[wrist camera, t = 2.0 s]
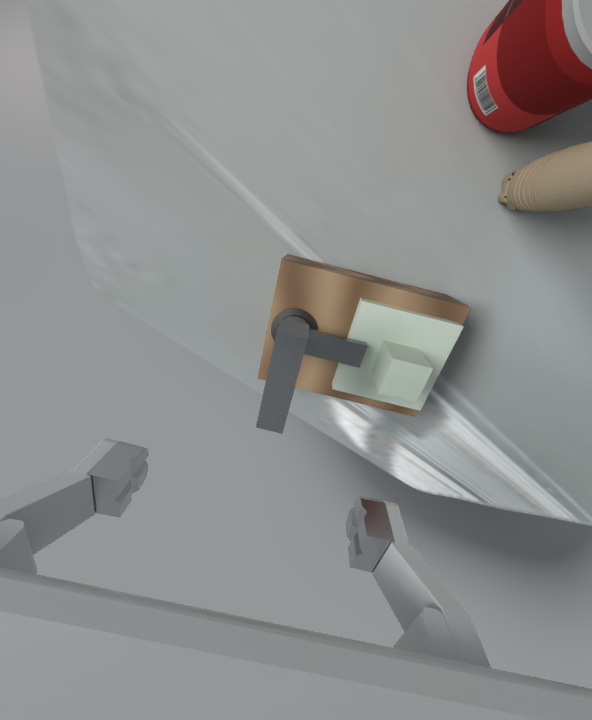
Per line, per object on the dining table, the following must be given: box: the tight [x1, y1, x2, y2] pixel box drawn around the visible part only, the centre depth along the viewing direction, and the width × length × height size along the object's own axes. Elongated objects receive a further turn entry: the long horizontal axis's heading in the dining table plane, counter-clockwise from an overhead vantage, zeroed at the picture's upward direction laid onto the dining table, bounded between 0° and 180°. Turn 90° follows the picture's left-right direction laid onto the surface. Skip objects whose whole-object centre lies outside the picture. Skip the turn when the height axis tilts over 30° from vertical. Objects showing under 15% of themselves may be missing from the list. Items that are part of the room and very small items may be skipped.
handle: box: [498, 141, 592, 212], centre depth 18 cm, size 5×6×15 cm
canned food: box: [467, 0, 592, 132], centre depth 17 cm, size 8×8×11 cm
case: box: [258, 254, 471, 417], centre depth 29 cm, size 17×12×5 cm
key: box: [256, 315, 368, 433], centre depth 22 cm, size 8×7×10 cm
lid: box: [332, 298, 464, 411], centre depth 25 cm, size 9×9×5 cm
